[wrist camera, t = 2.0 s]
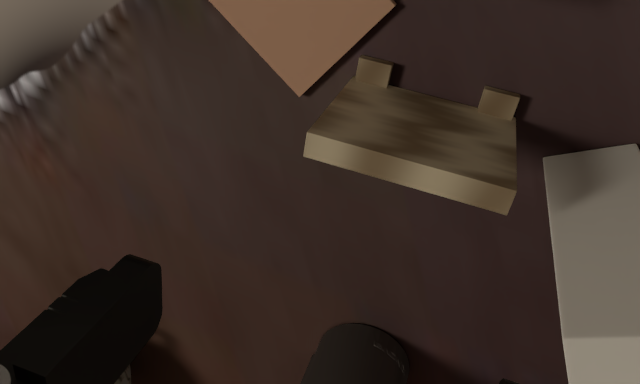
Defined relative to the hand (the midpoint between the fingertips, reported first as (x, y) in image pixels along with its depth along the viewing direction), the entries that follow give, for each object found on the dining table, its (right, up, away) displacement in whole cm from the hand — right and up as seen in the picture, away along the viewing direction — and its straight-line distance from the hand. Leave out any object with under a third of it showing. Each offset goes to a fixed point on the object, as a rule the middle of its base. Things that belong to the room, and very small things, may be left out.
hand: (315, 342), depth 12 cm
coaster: (-1, +17, +27) cm, 32 cm away
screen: (+8, +10, +27) cm, 30 cm away
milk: (+20, +4, +27) cm, 34 cm away
